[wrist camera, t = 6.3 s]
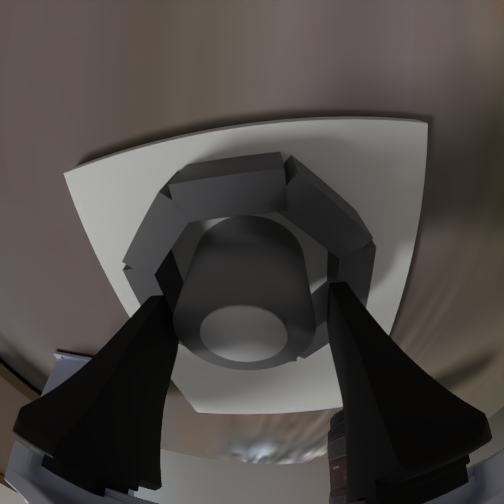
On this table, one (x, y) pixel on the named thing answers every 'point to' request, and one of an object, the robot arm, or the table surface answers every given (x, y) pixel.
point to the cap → (246, 296)
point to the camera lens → (338, 460)
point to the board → (268, 206)
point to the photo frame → (11, 414)
